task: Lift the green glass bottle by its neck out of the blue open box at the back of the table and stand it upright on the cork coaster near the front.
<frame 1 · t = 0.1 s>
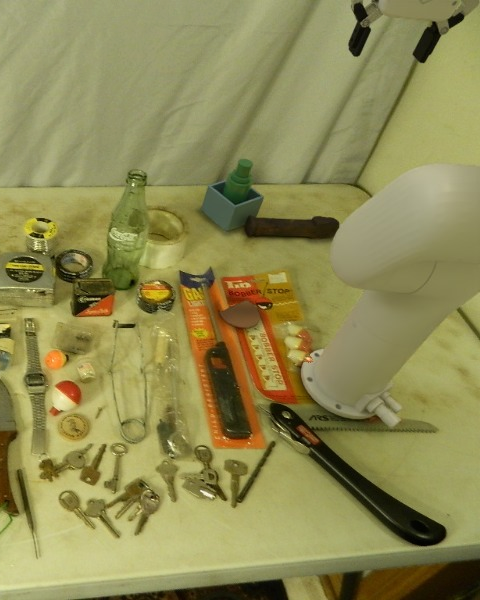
hand: (385, 56, 78), 37 cm above the table, tool pointing down, fingers open, 9 cm apart
blue open box: (227, 217, 110), on the table
hand tool: (288, 234, 108), on the table
bottle: (227, 215, 110), resting on blue open box
coaster: (238, 313, 91), on the table
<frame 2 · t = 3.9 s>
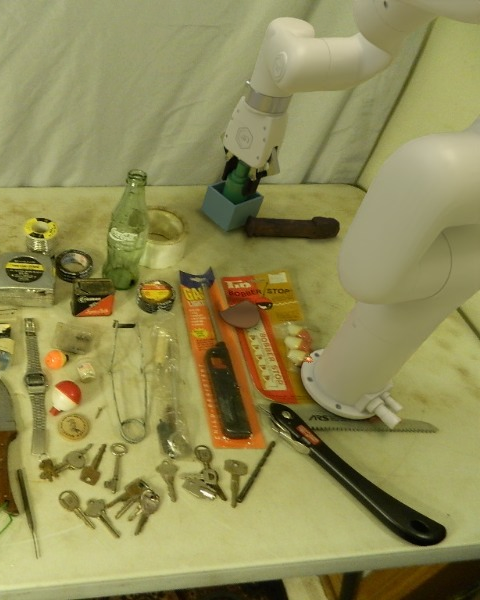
hand: (238, 185, 105), 8 cm above the table, tool pointing down, fingers closed on bottle, 5 cm apart
bottle: (227, 215, 110), point 1 cm above the table, touching blue open box, gripper
everything else where it was.
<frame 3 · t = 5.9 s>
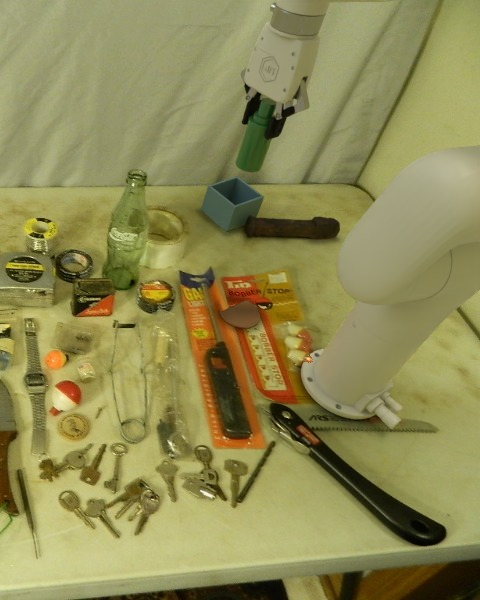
hand: (260, 129, 94), 21 cm above the table, tool pointing down, fingers closed on bottle, 5 cm apart
bottle: (248, 165, 100), point 13 cm above the table, touching gripper
everything else where it was.
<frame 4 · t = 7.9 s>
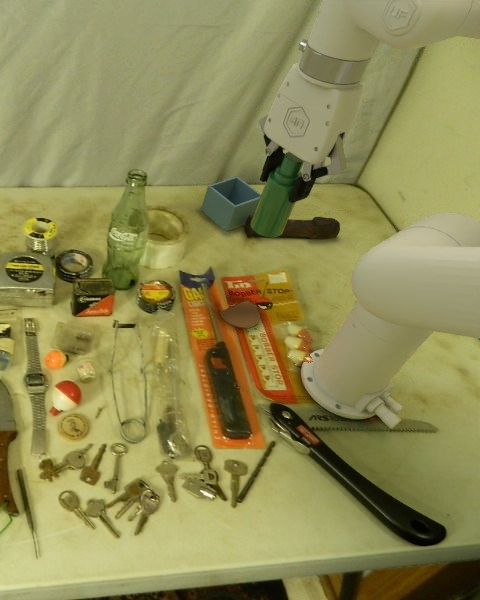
hand: (282, 188, 78), 23 cm above the table, tool pointing down, fingers closed on bottle, 5 cm apart
bottle: (266, 227, 83), point 16 cm above the table, touching gripper
everything else where it was.
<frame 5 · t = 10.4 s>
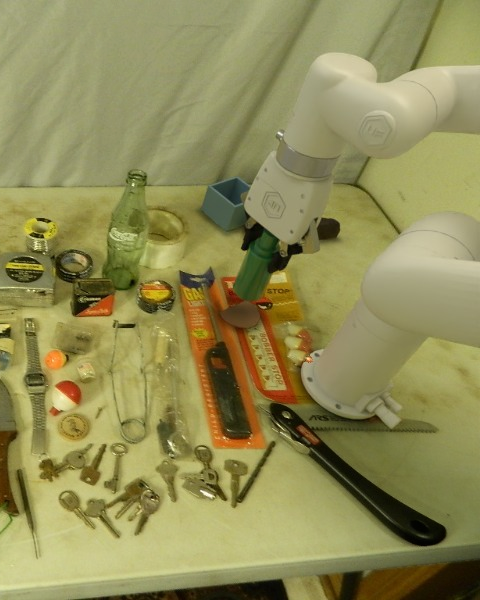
hand: (262, 257, 82), 13 cm above the table, tool pointing down, fingers closed on bottle, 5 cm apart
bottle: (247, 290, 87), point 6 cm above the table, touching gripper
everything else where it was.
when the fingers open (8 cm above the table, at t = 12.1 s): bottle stays where it is, resting on coaster.
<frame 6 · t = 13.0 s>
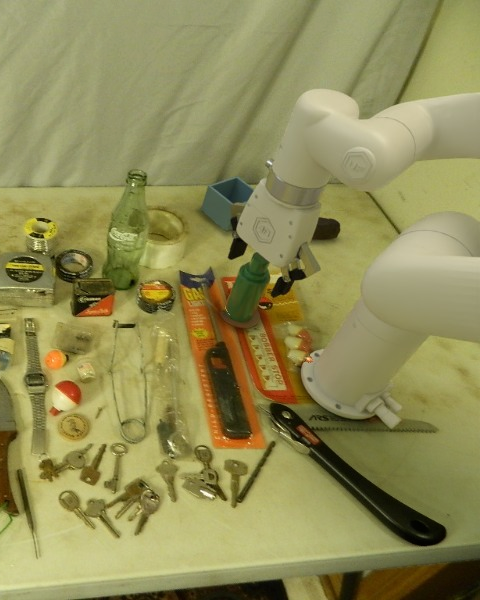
hand: (256, 274, 85), 9 cm above the table, tool pointing down, fingers open, 9 cm apart
bottle: (238, 311, 91), resting on coaster
everything else where it was.
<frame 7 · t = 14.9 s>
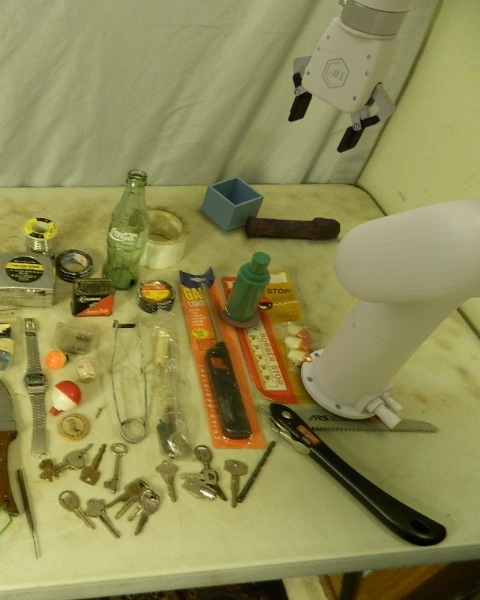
hand: (318, 134, 82), 27 cm above the table, tool pointing down, fingers open, 9 cm apart
nothing on the table moved.
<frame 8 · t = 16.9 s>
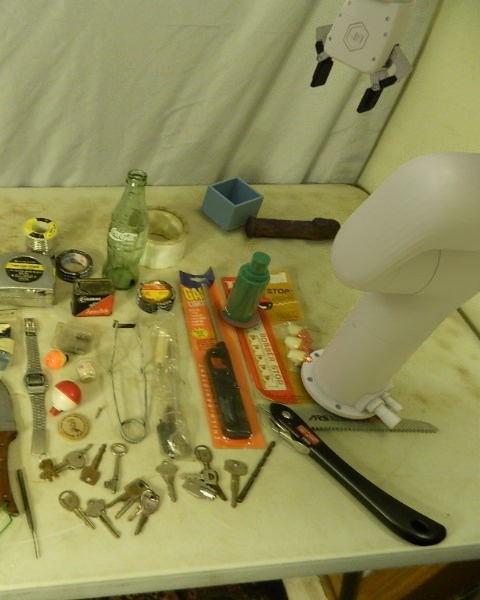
hand: (339, 98, 88), 28 cm above the table, tool pointing down, fingers open, 9 cm apart
nothing on the table moved.
at the end: bottle 0.1 cm off-centre on the coaster, point 0.4 cm above the coaster's base; bottle tilted 0°; bottle moved 27.4 cm from its start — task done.
